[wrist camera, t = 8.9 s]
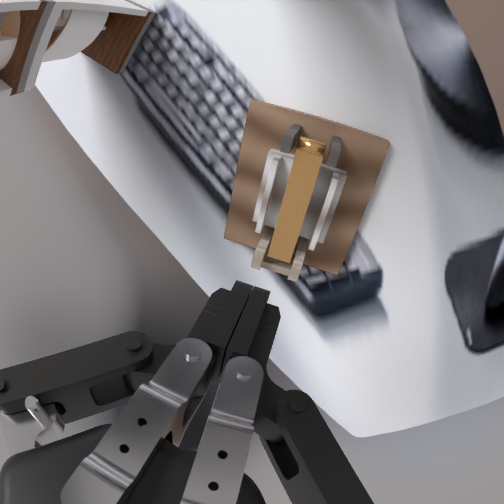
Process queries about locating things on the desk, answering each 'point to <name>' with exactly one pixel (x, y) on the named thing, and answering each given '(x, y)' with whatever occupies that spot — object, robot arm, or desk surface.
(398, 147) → the desk surface
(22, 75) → the display case
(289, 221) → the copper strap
